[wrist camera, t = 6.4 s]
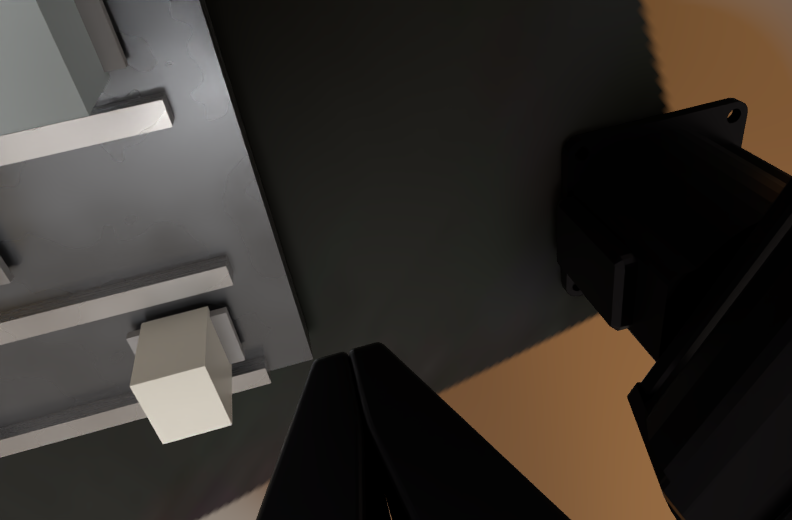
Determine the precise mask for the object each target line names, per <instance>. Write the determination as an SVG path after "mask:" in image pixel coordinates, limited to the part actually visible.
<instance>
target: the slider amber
mask: <svg viewBox="0 0 792 520" xmlns="http://www.w3.org/2000/svg"><path fill="white" fill-rule="evenodd" d="M13 277H14V276H13V275H12V273H11V271H10V270H9V268H8V267H7V265H6V264H5V262H4V260H3V259H2V257H1V256H0V285H4V284H8V283H11V281H12V279H13Z"/></svg>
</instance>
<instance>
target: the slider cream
mask: <svg viewBox="0 0 792 520" xmlns="http://www.w3.org/2000/svg"><path fill="white" fill-rule="evenodd" d="M126 340H127V342H128V343H129V345H130V347H131V349H132V351H133V353H134V354H135V360H134V366H133V371H132V376H131V381H130V388H131V390H132V391H133V393H134V395H135V397H136V398H137V400H138V402H139V404H140V405H141V407H142V409H143V410H144V412H145V414H146V416H147V417H148V419H149V421H150V423H151V424H152V426H153V428H154V430H155V431H156V433H157V435H158V437H159V438H160V440H161V442H162V443H163V444H166V443H169V442H173V441H176V440H180V439H184V438H187V437H191V436H194V435H198V434H201V433H205V432H209V431H212V430H216V429H219V428H223V427H226V426H230V425H232V364H233V363H237V362H240V361H244V360H245V352H244V350H243V348H242V345H241V343H240V340H239V338H238V335H237V333H236V330H235V328H234V325H233V323H232V320H231V318H230V315H229V313H228V310H227V308H226V307H224V308H220V309H216V310H212V311H210V310H209V308H208V306H206V307H202V308H198V309H195V310H191V311H187V312H183V313H179V314H175V315H171V316H168V317H164V318H160V319H156V320H152V321H148V322H144V323H141V329H139V330H135V331H132V332H128V333H127V337H126Z"/></svg>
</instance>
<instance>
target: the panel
mask: <svg viewBox="0 0 792 520" xmlns="http://www.w3.org/2000/svg"><path fill="white" fill-rule="evenodd" d="M102 1H103V3H104V6H105V8H106V11H107V13H108V15H109V18H110V20H111V23H112V25H113V28H114V30H115V33H116V35H117V38H118V40H119V43H120V45H121V48H122V50H123V53H124V55H125V58H126V60H127V63H128V65H127V67H126V68H122V69H118V70H113V71H108V73H109V75H110V78H109V80H108V82H107V84H106V86H105V88H104V89H103V91H102V93H101V95H100V97H99V98H98V100H97V102H96V104H95V106H94V108H93V109H92V111H91V113H90V115H89V116H85V117H81V118H76V119H72V120H67V121H63V122H58V123H54V124H49V125H45V126H40V127H36V128H31V129H27V130H23V131H18V132H14V133H9V134H5V135H0V256H1V257H2V259H3V260H4V262H5V264H6V265H7V267H8V268H9V270H10V271H11V273H12V275H13V276H14V277H13V279H12V281H11V283H8V284H4V285H0V457H4V456H7V455H11V454H15V453H18V452H22V451H26V450H29V449H33V448H36V447H40V446H44V445H47V444H51V443H55V442H58V441H62V440H66V439H69V438H73V437H76V436H80V435H84V434H87V433H91V432H95V431H98V430H102V429H106V428H109V427H113V426H117V425H120V424H124V423H127V422H131V421H135V420H138V419H142V418H146V417H147V416H146V414H145V412H144V410H143V409H142V407H141V405H140V404H139V402H138V400H137V398H136V397H135V395H134V393H133V391H132V390H131V388H130V381H131V376H132V371H133V366H134V360H135V354H134V353H133V351H132V349H131V347H130V345H129V343H128V342H127V340H126V337H127V333H128V332H132V331H135V330H139V329H141V323H144V322H148V321H152V320H156V319H160V318H164V317H168V316H171V315H175V314H179V313H183V312H187V311H191V310H195V309H198V308H202V307H206V306H208V308H209V310H210V311H212V310H216V309H220V308H224V307H226V308H227V310H228V313H229V315H230V318H231V320H232V323H233V325H234V328H235V330H236V333H237V335H238V338H239V340H240V343H241V345H242V348H243V350H244V352H245V360H244V361H240V362H237V363H233V364H232V394H233V393H237V392H240V391H244V390H248V389H251V388H255V387H259V386H262V385H266V384H269V383H271V376H270V371H271V370H275V369H279V368H282V367H286V366H290V365H293V364H297V363H301V362H304V361H308V360H312V359H313V356H312V350H311V344H310V338H309V332H308V329H307V326H306V322H305V319H304V316H303V313H302V310H301V306H300V303H299V300H298V297H297V294H296V290H295V287H294V284H293V281H292V278H291V274H290V271H289V268H288V265H287V262H286V258H285V255H284V252H283V249H282V246H281V243H280V239H279V236H278V233H277V230H276V227H275V223H274V220H273V217H272V214H271V211H270V207H269V204H268V201H267V198H266V195H265V191H264V188H263V185H262V182H261V179H260V175H259V172H258V169H257V166H256V163H255V159H254V156H253V153H252V150H251V147H250V143H249V140H248V137H247V134H246V131H245V128H244V124H243V121H242V118H241V115H240V112H239V108H238V105H237V102H236V99H235V96H234V92H233V89H232V86H231V83H230V80H229V76H228V73H227V70H226V67H225V64H224V60H223V57H222V54H221V51H220V48H219V44H218V41H217V38H216V35H215V32H214V28H213V25H212V22H211V19H210V16H209V12H208V9H207V6H206V3H205V0H102Z"/></svg>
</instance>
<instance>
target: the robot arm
mask: <svg viewBox="0 0 792 520" xmlns="http://www.w3.org/2000/svg"><path fill="white" fill-rule="evenodd" d="M732 110H733V112H732V114H731V115H730V116H729V117H728V114H729V113H730V112H731V111H732ZM747 113H748V109H747V106H746V104H745V103H743V102H741V101H739V100H737V99H735V98H727V99H723V100H719V101H715V102H711V103H706V104H702V105H698V106H694V107H690V108H686V109H682V110H679V111H674V112H670V113H666V114H662V115H658V116H654V117H650V118H645V119H641V120H637V121H633V122H629V123H625V124H621V125H617V126H613V127H609V128H605V129H601V130H597V131H593V132H589V133H585V134H580V135H576V136H574V137H572V138H570V139H569V140H568V141H567V142H566V144H565V145H564V147H563V152H562V199H561V200H560V201H559V203H558V205H557V262H558V264H559V265H560V266H561V267H562V286H563V288H564V289H565V290H566V291H567V293H568V294H569V295H571V296H580V295H583V294H584V295H585V297H586V298H587V299H588V300H589V301H590V303H591V304H592V305H593V306H594V308H595V309H596V310H597V311H598V312H599V314H600V315H601V316H602V317H603V318H604V320H605V321H606V322H607V323H608V325H609V326H611V327H612V328H614V329H615V330H617V331H619V330H623V329H626V328H628V330H629V331H630V332H631V333H632V334H633V335H634V337H635V338H636V339H637V340H638V341H639V343H641V345H642V346H643V347H644V348H645V350H646V351H647V352H648V353H649V354H650V355H651V356H652V358H653V359H654V360H655V361H656V363H655V364H654V366H653V367H652V368H651V370H650V371H649V372H648V374H647V375H646V377H645V378H644V379H643V381H642V382H638V383H636V385H635V386H634V388H633V389H632V390H631V392H630V393H629V394H628V396H627V398H628V401H629V403H630V406H631V408H632V411H633V414H634V417H635V420H636V422H637V425H638V428H639V430H640V433H641V436H642V438H643V441H644V444H645V447H646V449H647V452H648V455H649V457H650V460H651V463H652V465H653V468H654V471H655V473H656V476H657V479H658V481H659V484H660V487H661V490H662V493H663V496H664V498H665V500H666V502H667V504H668V506H669V508H670V510H671V512H672V513H673V515H674V516H675V518H676V520H792V176H791V175H789V174H787V173H785V172H783V171H782V170H780V169H778V168H777V167H775V166H773V165H771V164H769V163H767V162H766V161H764V160H762V159H760V158H759V157H757V156H755V155H753V154H751V153H750V152H748V151H746V150H744V149H742V148H741V145H742V140H743V134H744V129H745V124H746V118H747ZM727 117H728V118H727ZM581 147H584V148H583V151H582V153H581V154H580V155H578V156H575V152H576V151H577V150H578V149H579V148H581ZM574 283H575V285H573V284H574ZM349 358H350V359H349ZM386 499H387V500H386ZM387 503H388V504H387ZM388 507H389V508H388ZM389 510H390V513H389ZM390 514H391V517H392V520H571V519H569V518H568V517H567V516H566V515H565V514H564V513H563V512H562V511H561V510H560V509H559V508H558V507H557V506H556V505H554V503H552V502H551V501H550V500H549V499H548V498H547V497H546V496H545V495H544V494H543V493H542V492H541V491H540V490H538V489H537V488H536V487H535V486H534V485H533V484H532V483H531V482H530V481H529V480H528V479H527V478H526V477H525V476H524V475H522V474H521V473H520V472H519V471H518V470H517V469H516V468H515V467H514V466H513V465H512V464H511V463H510V462H509V461H508V460H507V459H505V458H504V457H503V456H502V455H501V454H500V453H499V452H498V451H497V450H496V449H495V448H494V447H493V446H492V445H491V444H490V443H488V442H487V441H486V440H485V439H484V438H483V437H482V436H481V435H480V434H479V433H478V432H477V431H476V430H475V429H474V428H472V427H471V426H470V425H469V424H468V423H467V422H466V421H465V420H464V419H463V418H462V417H461V416H460V415H459V414H458V413H456V412H455V411H454V410H453V409H452V408H451V407H450V406H449V405H448V404H447V403H446V402H445V401H444V400H442V399H441V398H440V397H439V396H438V395H437V394H436V393H435V392H434V391H433V390H432V389H431V388H430V387H429V386H428V385H427V384H426V383H424V382H423V381H422V380H421V379H420V378H419V377H418V376H417V375H416V374H415V373H414V372H413V371H412V370H411V369H409V368H408V367H407V366H406V365H405V364H404V363H403V362H402V361H401V360H400V359H399V358H398V357H397V356H396V355H395V354H393V353H392V352H391V351H390V350H389V349H388V348H387V347H386V346H385V345H384V344H382V343H379V342H376V343H372V344H368V345H365V346H361V347H358V348H354V349H352V350H351V351H350V353H349V356H348V354H347V353H345V352H340V353H336V354H332V355H329V356H325V357H321V358H318V359H316V360H315V361H314V362H313V364H312V366H311V369H310V372H309V375H308V377H307V380H306V383H305V386H304V389H303V391H302V394H301V397H300V400H299V402H298V405H297V408H296V411H295V413H294V416H293V419H292V422H291V425H290V427H289V430H288V433H287V436H286V438H285V441H284V444H283V447H282V449H281V452H280V455H279V458H278V460H277V463H276V466H275V469H274V472H273V474H272V477H271V480H270V483H269V485H268V488H267V491H266V494H265V496H264V499H263V502H262V505H261V508H260V510H259V513H258V516H257V519H256V520H391V517H390Z"/></svg>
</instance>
